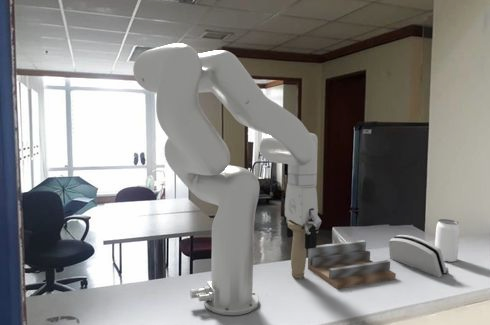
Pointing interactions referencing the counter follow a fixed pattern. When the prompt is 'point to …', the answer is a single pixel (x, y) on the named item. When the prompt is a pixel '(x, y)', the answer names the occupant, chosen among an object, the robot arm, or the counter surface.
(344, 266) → the track
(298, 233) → the handle
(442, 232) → the can
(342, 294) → the counter surface
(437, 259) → the grey curved slotted block
